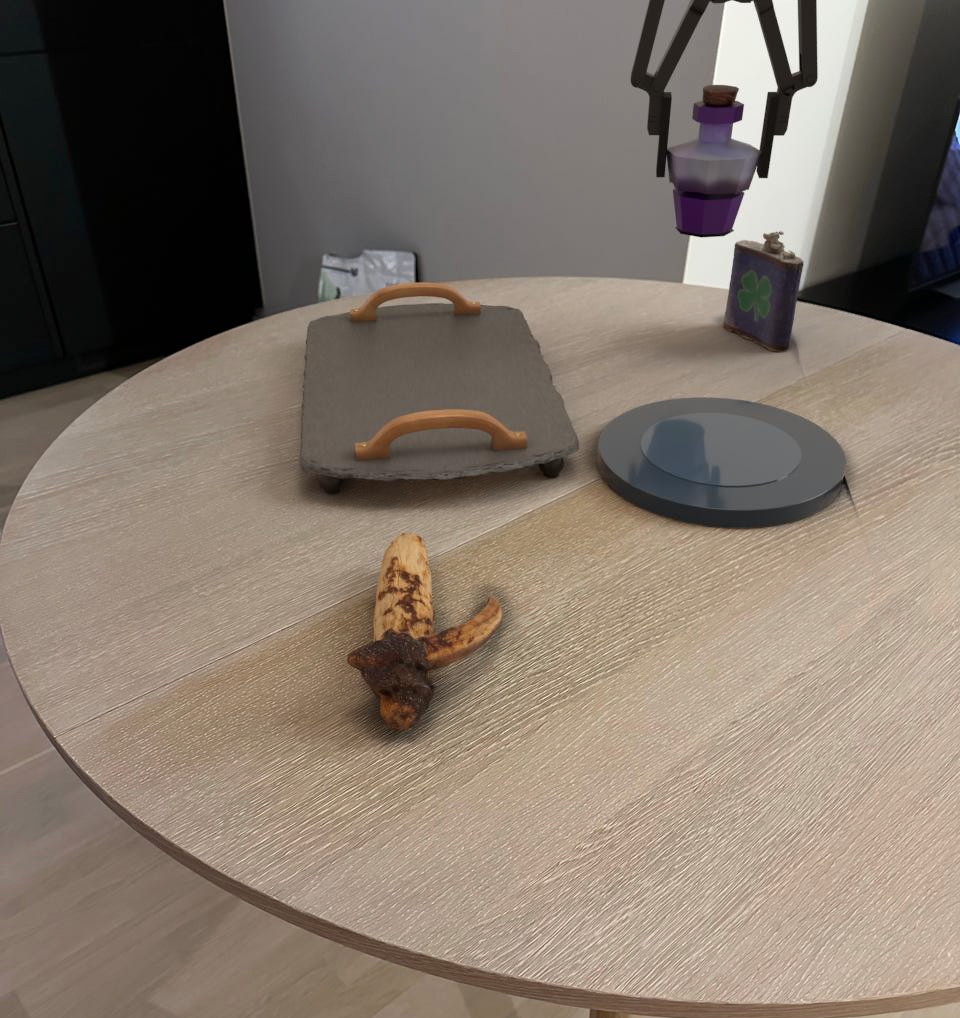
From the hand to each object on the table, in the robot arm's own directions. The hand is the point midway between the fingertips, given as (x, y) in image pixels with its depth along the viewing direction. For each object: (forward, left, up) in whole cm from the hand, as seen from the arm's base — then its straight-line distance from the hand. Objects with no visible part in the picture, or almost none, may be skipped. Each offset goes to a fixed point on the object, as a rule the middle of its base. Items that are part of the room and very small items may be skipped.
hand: (710, 174), depth 89 cm
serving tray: (+25, +15, -17) cm, 34 cm away
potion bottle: (0, 0, -5) cm, 5 cm away
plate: (-1, +25, -17) cm, 30 cm away
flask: (-7, -5, -17) cm, 19 cm away
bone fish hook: (+19, +51, -17) cm, 57 cm away
